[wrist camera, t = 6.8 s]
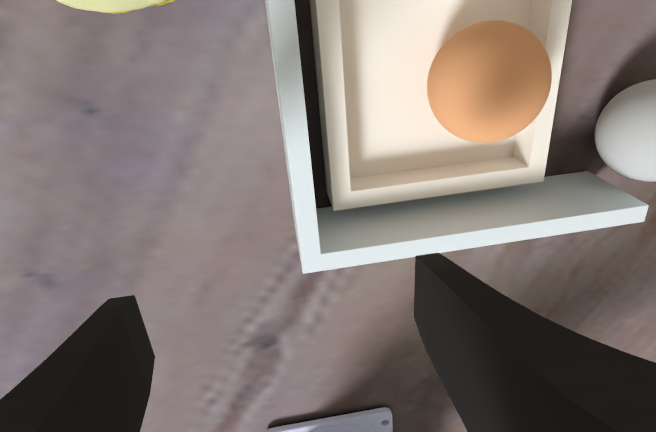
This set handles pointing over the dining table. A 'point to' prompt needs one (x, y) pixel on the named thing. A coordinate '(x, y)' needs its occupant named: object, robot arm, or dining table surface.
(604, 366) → the robot arm
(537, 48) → the terracotta ball
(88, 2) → the decorated donut
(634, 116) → the grey ball
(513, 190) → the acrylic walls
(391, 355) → the dining table surface
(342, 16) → the ceramic dish
